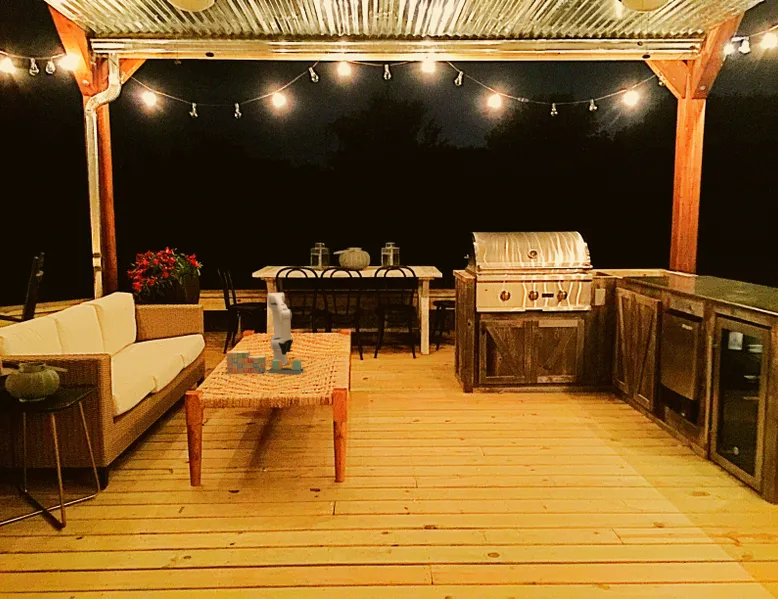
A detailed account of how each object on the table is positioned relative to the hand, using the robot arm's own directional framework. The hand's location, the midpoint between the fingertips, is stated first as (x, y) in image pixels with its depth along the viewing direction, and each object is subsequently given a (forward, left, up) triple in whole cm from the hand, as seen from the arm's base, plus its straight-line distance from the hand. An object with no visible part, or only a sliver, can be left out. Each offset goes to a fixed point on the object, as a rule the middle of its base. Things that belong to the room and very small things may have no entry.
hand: (286, 353), depth 378 cm
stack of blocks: (+8, -21, -10) cm, 25 cm away
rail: (+7, +2, -10) cm, 12 cm away
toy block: (+7, -4, -9) cm, 12 cm away
